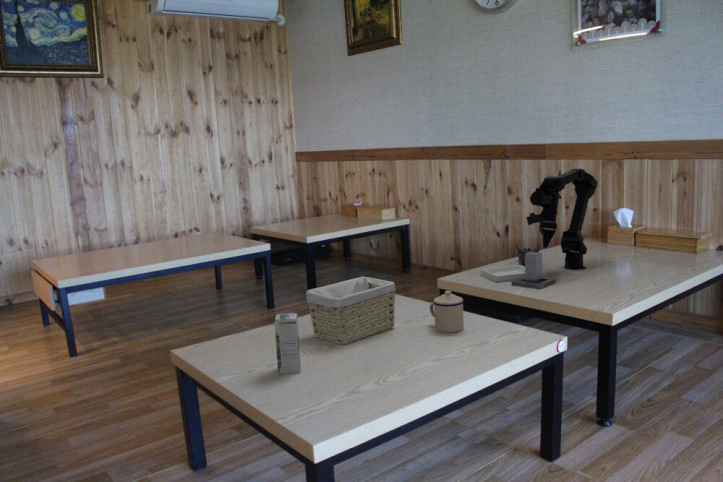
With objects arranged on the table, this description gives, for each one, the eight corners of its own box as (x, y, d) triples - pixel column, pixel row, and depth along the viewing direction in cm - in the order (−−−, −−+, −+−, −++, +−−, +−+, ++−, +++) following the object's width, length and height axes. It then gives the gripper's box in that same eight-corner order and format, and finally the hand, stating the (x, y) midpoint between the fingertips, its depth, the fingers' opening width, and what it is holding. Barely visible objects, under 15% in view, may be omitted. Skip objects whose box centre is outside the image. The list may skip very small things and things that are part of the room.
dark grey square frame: (527, 279, 239) (527, 275, 239) (556, 282, 231) (556, 278, 231) (511, 285, 231) (511, 281, 231) (540, 289, 223) (540, 285, 222)
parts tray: (519, 270, 255) (519, 264, 255) (538, 277, 241) (538, 271, 240) (480, 275, 251) (480, 269, 250) (497, 282, 236) (497, 276, 236)
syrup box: (279, 367, 160) (274, 314, 157) (301, 365, 160) (297, 312, 158) (278, 375, 154) (273, 320, 152) (301, 373, 154) (296, 318, 152)
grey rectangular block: (531, 282, 234) (531, 251, 232) (542, 283, 231) (541, 252, 229) (525, 284, 231) (525, 253, 229) (536, 285, 228) (535, 254, 226)
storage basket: (340, 348, 172) (336, 298, 169) (306, 337, 184) (303, 289, 181) (400, 328, 187) (397, 281, 185) (365, 318, 199) (362, 275, 197)
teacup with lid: (470, 327, 183) (469, 290, 181) (451, 335, 177) (449, 296, 175) (440, 320, 192) (439, 284, 190) (421, 327, 186) (419, 290, 184)
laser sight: (534, 260, 275) (534, 238, 273) (542, 271, 253) (542, 247, 251) (512, 261, 276) (512, 239, 274) (518, 271, 254) (518, 248, 252)
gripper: (528, 208, 250) (523, 245, 250) (529, 204, 231) (524, 244, 232) (556, 211, 247) (551, 249, 247) (559, 207, 229) (554, 248, 229)
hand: (544, 247), depth 238 cm, fingers open, 9 cm apart
